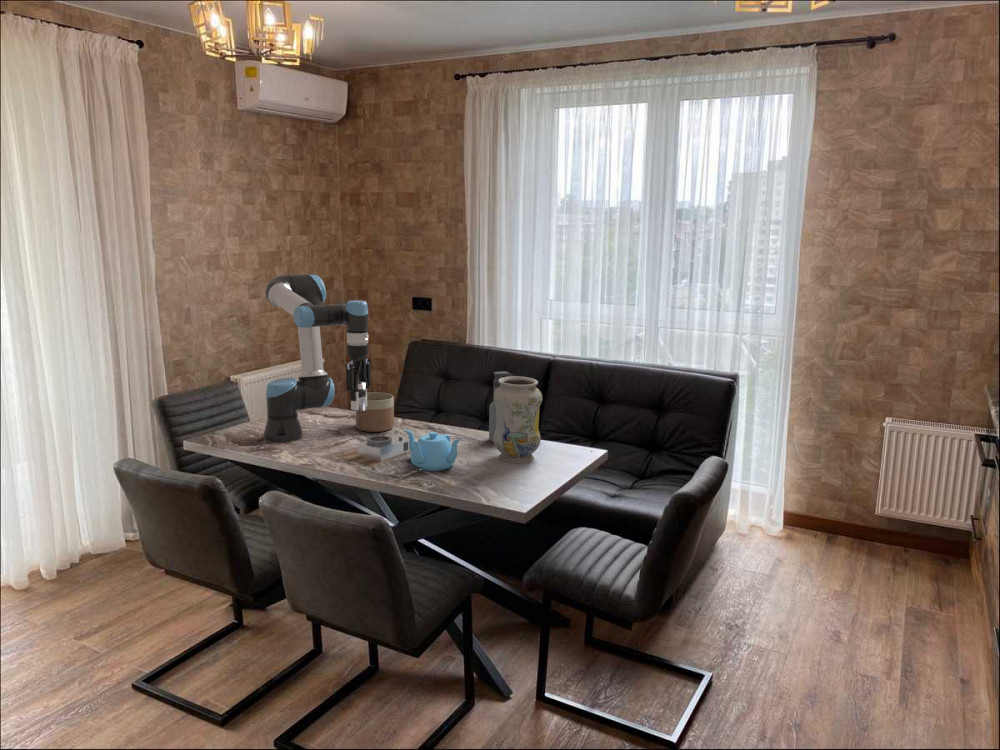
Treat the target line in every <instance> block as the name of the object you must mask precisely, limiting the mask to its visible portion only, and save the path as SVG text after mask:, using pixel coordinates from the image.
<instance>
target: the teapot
mask: <svg viewBox="0 0 1000 750" xmlns="http://www.w3.org/2000/svg"><path fill="white" fill-rule="evenodd" d="M404 431H405V433H407V436H408V449H409V451H410V454H411V455H410V461H411V464H412V465H413V466H414V467H417V468H418V470H420V469H421V470H420V471H425V472H426V471H428V472H440V470H441V471H445V470H447V469H450V468H451V467H452V466H453V465H454V464H455V462H456V459H457V457H458V444H459V442H460V441H461V438H458V439H454V440H453V441H452V443H451V437H450V435H448V434H445V433H444V434H438V432H436V431H429V432H428V434H425V435H422V436H420V437H419V439H418V440H417V441H416V440H415V436H414V433H413V432H412V431H411V430H410V429H407V428H404Z"/></svg>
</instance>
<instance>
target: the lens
mask: <svg viewBox="0 0 1000 750" xmlns="http://www.w3.org/2000/svg"><path fill="white" fill-rule="evenodd" d="M357 392H358V401H359V410H354V409H351V410H352V411H353V412H356V411H365V410H366V382H364V381H360V380H358V385H357Z"/></svg>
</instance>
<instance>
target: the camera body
mask: <svg viewBox="0 0 1000 750" xmlns="http://www.w3.org/2000/svg"><path fill="white" fill-rule="evenodd" d="M357 449H358V457H362V458H366V459H370V460H374V461H378V462H383V461H385V460H388V459H391V458H394V457H397V456H399V455H402V454H405V453H408V452H409V438H408V439H407V438H405V437H404V436H394V435H389V434H384V435H382V434H381V435H379V434H378V435H371V436H368V437H367V438H366V440H364V441H362V442H358V443H357Z"/></svg>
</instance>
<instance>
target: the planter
mask: <svg viewBox="0 0 1000 750" xmlns="http://www.w3.org/2000/svg"><path fill="white" fill-rule="evenodd" d="M394 398H395V397H394V395H393V394H391V393H387V392H367V407H366V410H365V411H355V427H356V429H357V430H359V431H362V432H365V431H366V432H365V433H381V432H382V433H383V432H387V431H390V430H391V429H393V428H394V427H395V407H394V406H395V399H394Z"/></svg>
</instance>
